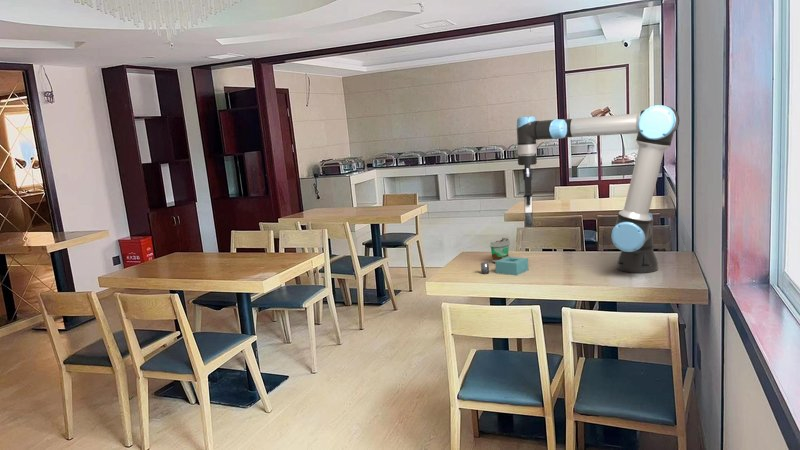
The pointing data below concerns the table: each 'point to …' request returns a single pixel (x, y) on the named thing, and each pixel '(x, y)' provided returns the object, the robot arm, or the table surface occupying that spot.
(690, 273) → the table surface
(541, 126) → the robot arm
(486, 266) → the short pin
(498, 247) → the food container
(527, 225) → the long pin
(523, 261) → the drilled block
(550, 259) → the table surface
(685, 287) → the table surface
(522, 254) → the table surface
